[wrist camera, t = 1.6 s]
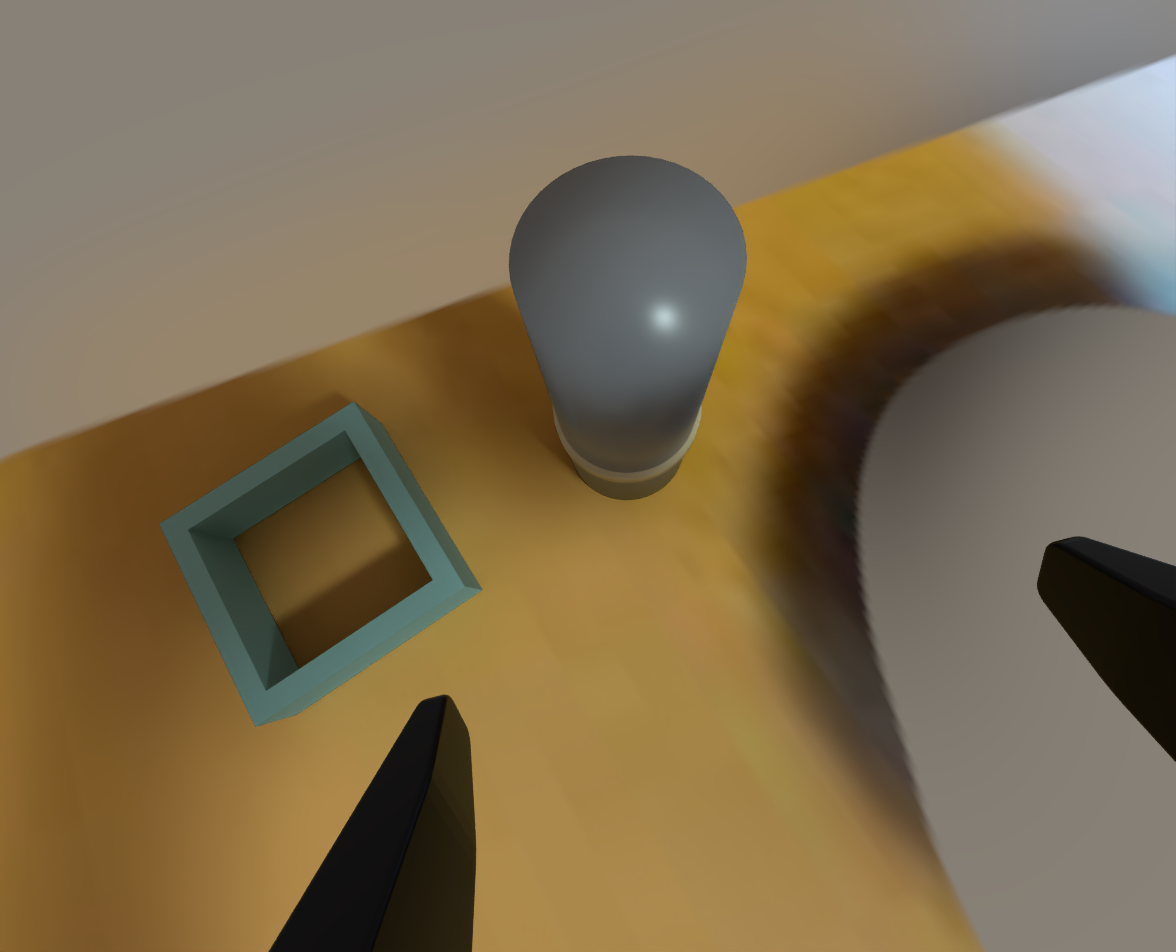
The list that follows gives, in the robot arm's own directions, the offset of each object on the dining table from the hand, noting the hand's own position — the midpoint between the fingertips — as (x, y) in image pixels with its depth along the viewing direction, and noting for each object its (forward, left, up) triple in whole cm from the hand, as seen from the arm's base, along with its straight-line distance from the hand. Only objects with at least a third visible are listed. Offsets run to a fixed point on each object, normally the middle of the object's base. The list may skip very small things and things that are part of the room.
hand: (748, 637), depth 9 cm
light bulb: (+5, -6, -13) cm, 15 cm away
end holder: (+13, +3, -13) cm, 19 cm away
